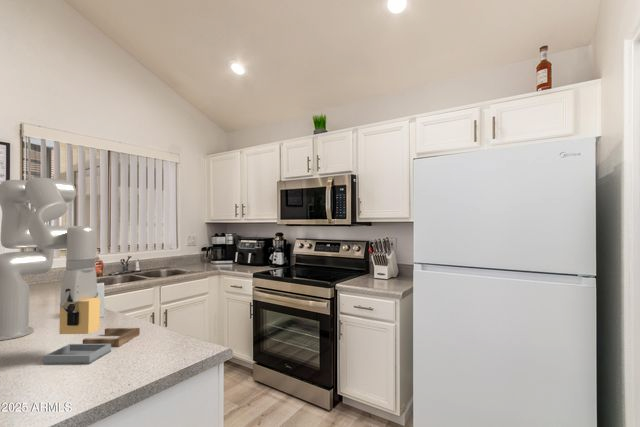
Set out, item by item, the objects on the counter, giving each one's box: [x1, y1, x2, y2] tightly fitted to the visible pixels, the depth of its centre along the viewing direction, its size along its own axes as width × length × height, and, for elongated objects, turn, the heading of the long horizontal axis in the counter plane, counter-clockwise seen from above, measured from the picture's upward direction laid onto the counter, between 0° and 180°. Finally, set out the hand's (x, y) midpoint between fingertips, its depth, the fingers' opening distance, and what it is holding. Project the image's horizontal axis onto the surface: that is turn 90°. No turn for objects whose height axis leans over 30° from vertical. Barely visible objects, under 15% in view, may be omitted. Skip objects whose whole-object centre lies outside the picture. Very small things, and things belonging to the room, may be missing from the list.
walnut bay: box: [82, 327, 141, 348], centre depth 116 cm, size 13×12×2 cm
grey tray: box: [43, 343, 112, 365], centre depth 101 cm, size 14×10×2 cm
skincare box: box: [96, 282, 105, 319], centre depth 148 cm, size 8×6×15 cm
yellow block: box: [59, 298, 101, 335], centre depth 102 cm, size 10×5×10 cm, turn 90°
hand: (79, 321), depth 101 cm, fingers closed on yellow block, 5 cm apart
